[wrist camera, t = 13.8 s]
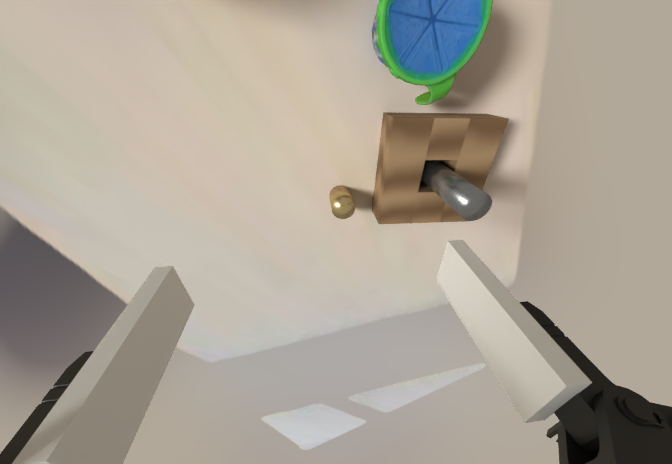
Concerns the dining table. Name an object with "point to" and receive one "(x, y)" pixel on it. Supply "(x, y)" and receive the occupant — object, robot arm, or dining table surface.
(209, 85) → the dining table surface
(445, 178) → the long steel pin
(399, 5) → the snack cup
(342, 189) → the short brass pin
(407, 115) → the hole block
